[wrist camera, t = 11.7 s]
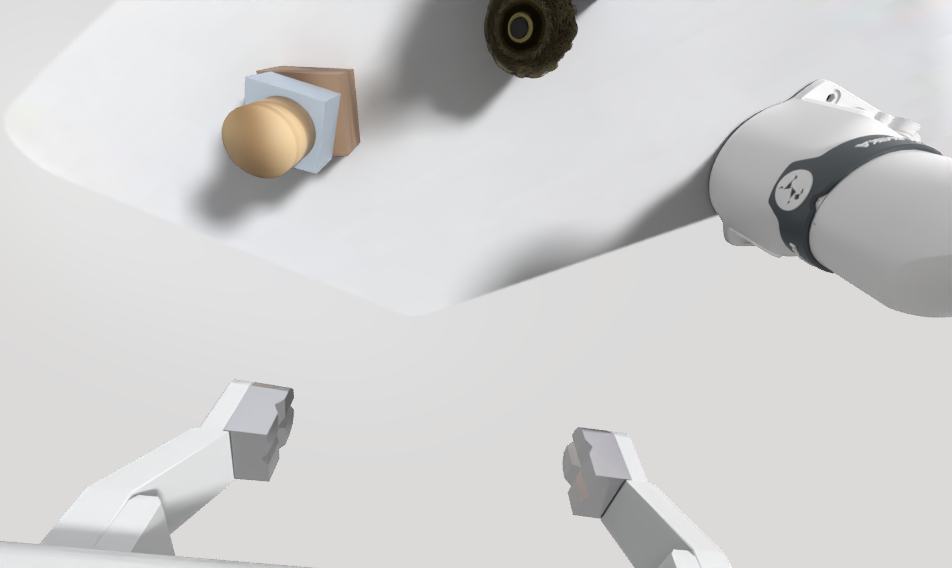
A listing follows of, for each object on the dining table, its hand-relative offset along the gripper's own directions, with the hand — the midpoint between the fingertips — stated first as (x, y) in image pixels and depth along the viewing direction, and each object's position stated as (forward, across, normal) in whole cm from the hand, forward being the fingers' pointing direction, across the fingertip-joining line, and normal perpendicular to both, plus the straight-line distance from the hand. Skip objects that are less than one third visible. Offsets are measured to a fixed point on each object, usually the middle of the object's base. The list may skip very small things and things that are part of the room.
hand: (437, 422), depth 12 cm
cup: (+39, -4, -11) cm, 41 cm away
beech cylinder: (+28, +14, 0) cm, 31 cm away
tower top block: (+33, +14, 0) cm, 36 cm away
